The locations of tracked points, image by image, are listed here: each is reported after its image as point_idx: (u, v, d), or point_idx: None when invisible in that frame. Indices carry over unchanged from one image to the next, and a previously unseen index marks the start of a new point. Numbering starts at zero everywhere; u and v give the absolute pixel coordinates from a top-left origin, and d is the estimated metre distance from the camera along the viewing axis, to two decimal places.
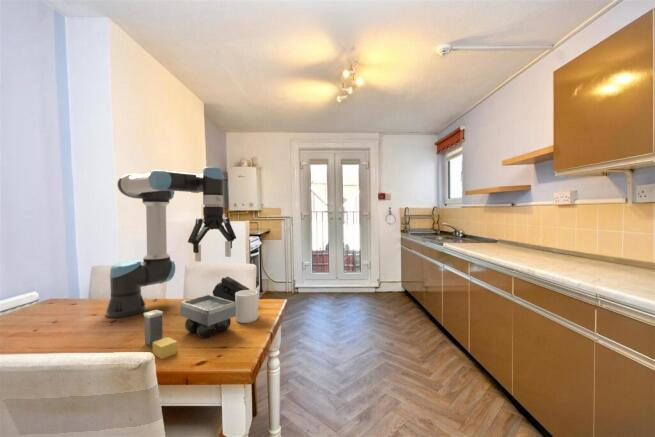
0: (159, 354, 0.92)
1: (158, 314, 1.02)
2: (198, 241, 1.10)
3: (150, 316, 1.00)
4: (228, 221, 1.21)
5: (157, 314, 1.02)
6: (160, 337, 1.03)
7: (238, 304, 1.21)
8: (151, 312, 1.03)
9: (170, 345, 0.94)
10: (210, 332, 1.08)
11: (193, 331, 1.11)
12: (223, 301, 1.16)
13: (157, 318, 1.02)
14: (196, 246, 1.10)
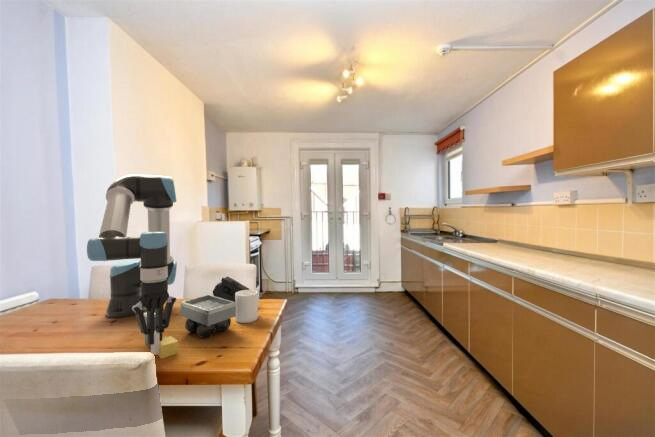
0: (160, 353, 0.93)
1: None
2: (152, 330, 0.91)
3: None
4: (172, 302, 0.96)
5: None
6: None
7: (238, 304, 1.21)
8: None
9: (170, 345, 0.94)
10: (210, 332, 1.08)
11: (193, 331, 1.11)
12: (223, 301, 1.16)
13: None
14: (151, 336, 0.92)
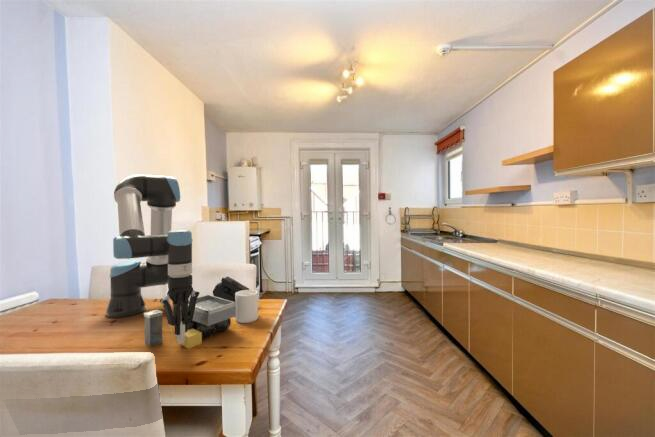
0: (186, 344, 1.00)
1: (158, 314, 1.02)
2: (178, 322, 0.98)
3: (150, 316, 1.00)
4: (196, 295, 1.03)
5: (157, 314, 1.02)
6: (160, 337, 1.03)
7: (238, 304, 1.21)
8: (151, 312, 1.03)
9: (195, 336, 1.01)
10: (210, 332, 1.08)
11: None
12: (223, 301, 1.16)
13: (157, 318, 1.02)
14: (177, 328, 0.98)
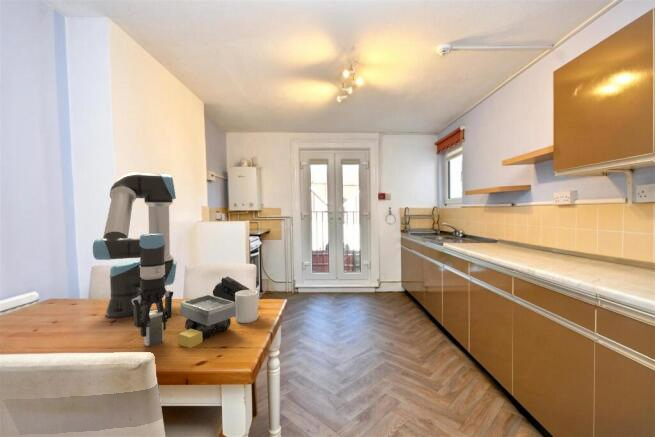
0: (188, 344, 1.00)
1: (158, 314, 1.02)
2: (145, 324, 1.00)
3: (150, 316, 1.00)
4: (170, 295, 1.07)
5: (157, 314, 1.02)
6: (160, 337, 1.03)
7: (238, 304, 1.21)
8: (151, 312, 1.03)
9: (197, 335, 1.02)
10: (210, 332, 1.08)
11: None
12: (223, 301, 1.16)
13: (157, 318, 1.02)
14: (144, 329, 1.00)
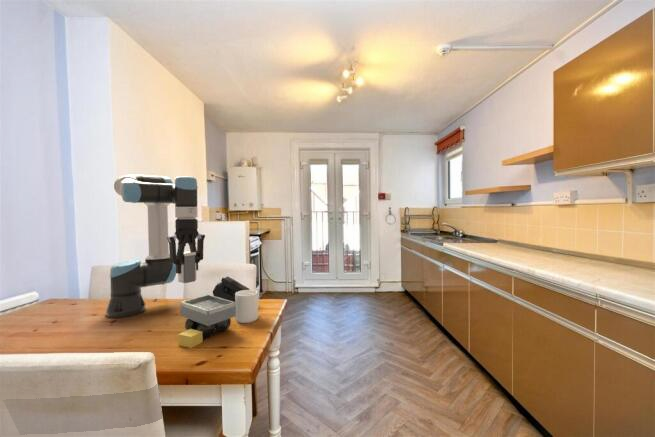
0: (188, 344, 1.00)
1: (191, 253, 1.07)
2: (180, 261, 1.05)
3: (184, 254, 1.05)
4: (202, 238, 1.12)
5: (191, 253, 1.07)
6: (193, 276, 1.08)
7: (238, 304, 1.21)
8: (184, 252, 1.08)
9: (197, 335, 1.02)
10: (210, 332, 1.08)
11: None
12: (223, 301, 1.16)
13: (191, 257, 1.07)
14: (179, 266, 1.05)
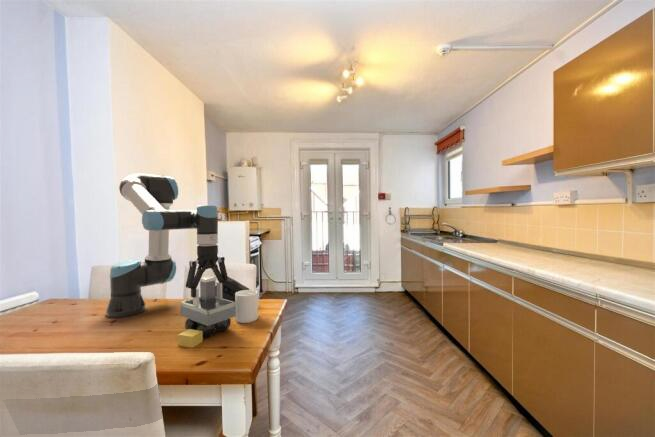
0: (190, 343, 1.00)
1: (212, 279, 1.12)
2: (196, 285, 1.07)
3: (206, 280, 1.10)
4: (223, 260, 1.17)
5: (212, 279, 1.12)
6: (214, 300, 1.13)
7: (238, 304, 1.21)
8: (205, 277, 1.13)
9: (198, 334, 1.02)
10: (210, 332, 1.08)
11: None
12: (223, 301, 1.16)
13: (212, 283, 1.12)
14: (194, 291, 1.07)
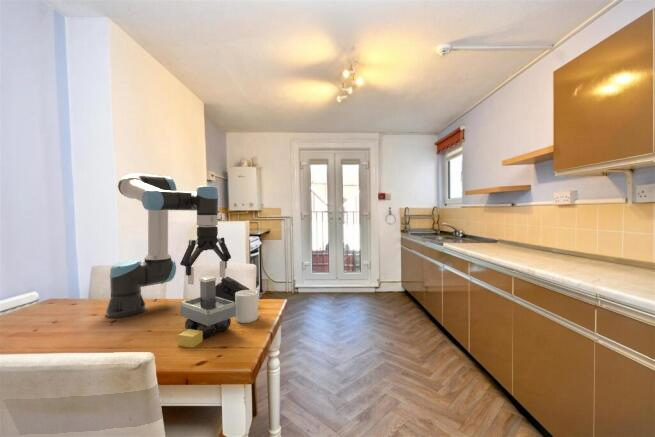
0: (190, 343, 1.00)
1: (212, 279, 1.12)
2: (191, 263, 1.06)
3: (206, 280, 1.10)
4: (223, 241, 1.17)
5: (212, 279, 1.12)
6: (214, 300, 1.13)
7: (238, 304, 1.21)
8: (205, 277, 1.13)
9: (198, 334, 1.02)
10: (210, 332, 1.08)
11: None
12: (223, 301, 1.16)
13: (212, 283, 1.12)
14: (189, 269, 1.06)
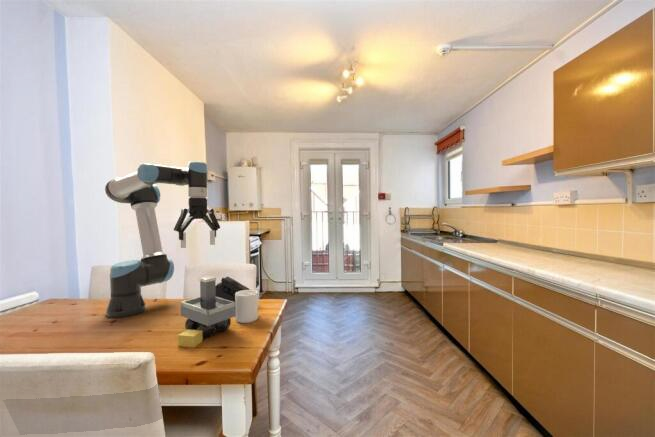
0: (191, 343, 1.00)
1: (212, 279, 1.12)
2: (183, 229, 1.20)
3: (206, 280, 1.10)
4: (212, 212, 1.31)
5: (212, 279, 1.12)
6: (214, 300, 1.13)
7: (238, 304, 1.21)
8: (205, 277, 1.13)
9: (198, 334, 1.03)
10: (210, 332, 1.08)
11: None
12: (223, 301, 1.16)
13: (212, 283, 1.12)
14: (181, 234, 1.19)
